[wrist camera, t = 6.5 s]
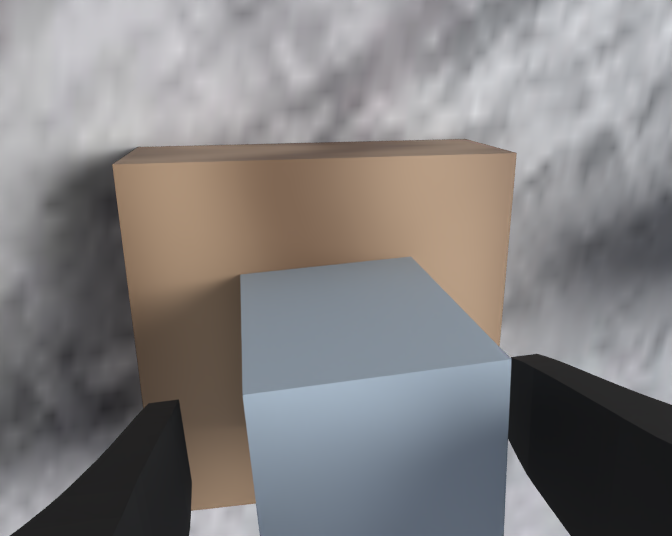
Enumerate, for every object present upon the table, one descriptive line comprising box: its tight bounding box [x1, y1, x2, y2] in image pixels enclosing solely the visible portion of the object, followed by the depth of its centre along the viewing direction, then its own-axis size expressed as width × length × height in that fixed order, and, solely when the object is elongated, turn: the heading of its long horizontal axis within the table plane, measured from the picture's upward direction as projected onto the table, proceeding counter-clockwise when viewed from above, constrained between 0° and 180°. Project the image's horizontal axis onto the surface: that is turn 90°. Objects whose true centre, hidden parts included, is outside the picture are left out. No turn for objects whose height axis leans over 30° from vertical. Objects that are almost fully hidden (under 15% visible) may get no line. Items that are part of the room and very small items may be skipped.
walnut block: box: [112, 139, 517, 511], centre depth 18 cm, size 10×10×4 cm
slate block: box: [240, 257, 511, 536], centre depth 13 cm, size 4×4×6 cm
